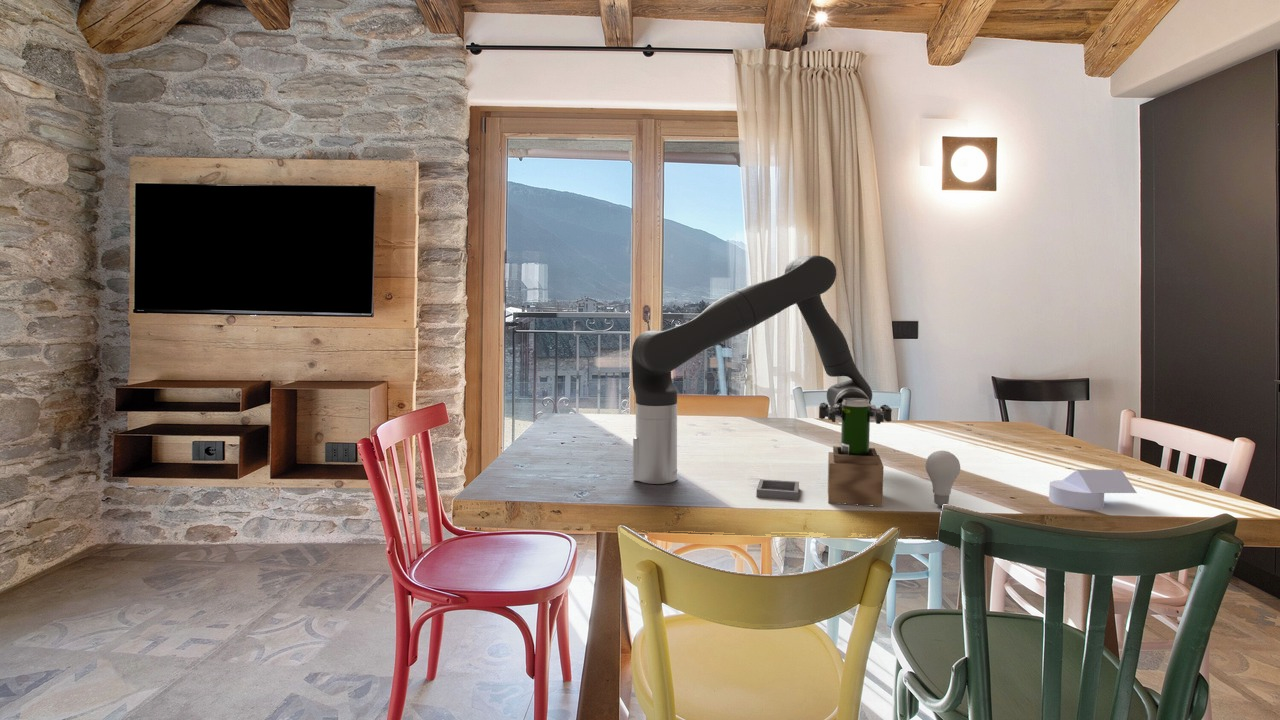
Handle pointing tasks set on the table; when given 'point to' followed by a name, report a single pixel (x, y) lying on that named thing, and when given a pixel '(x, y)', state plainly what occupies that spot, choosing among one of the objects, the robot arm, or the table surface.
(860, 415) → the beer can
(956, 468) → the lightbulb
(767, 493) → the charcoal holder
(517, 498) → the table surface
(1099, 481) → the wedge on round base
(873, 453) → the walnut stand
